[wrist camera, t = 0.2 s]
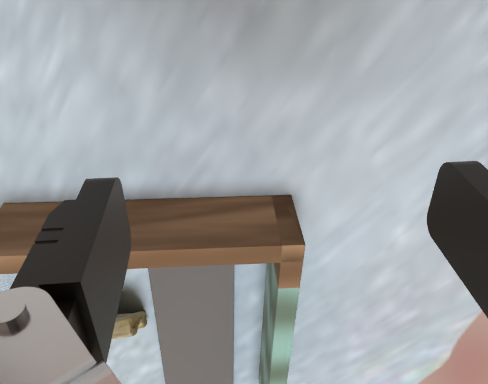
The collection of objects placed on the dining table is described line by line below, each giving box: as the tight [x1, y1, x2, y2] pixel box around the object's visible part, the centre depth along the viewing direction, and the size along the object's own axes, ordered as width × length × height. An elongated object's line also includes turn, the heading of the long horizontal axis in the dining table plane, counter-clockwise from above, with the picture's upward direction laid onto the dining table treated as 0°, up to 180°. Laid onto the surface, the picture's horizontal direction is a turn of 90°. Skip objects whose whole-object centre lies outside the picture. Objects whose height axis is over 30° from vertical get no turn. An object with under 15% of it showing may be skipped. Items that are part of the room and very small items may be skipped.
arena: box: [0, 195, 305, 384], centre depth 36 cm, size 24×21×6 cm
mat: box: [148, 265, 234, 384], centre depth 40 cm, size 24×7×1 cm, turn 179°
